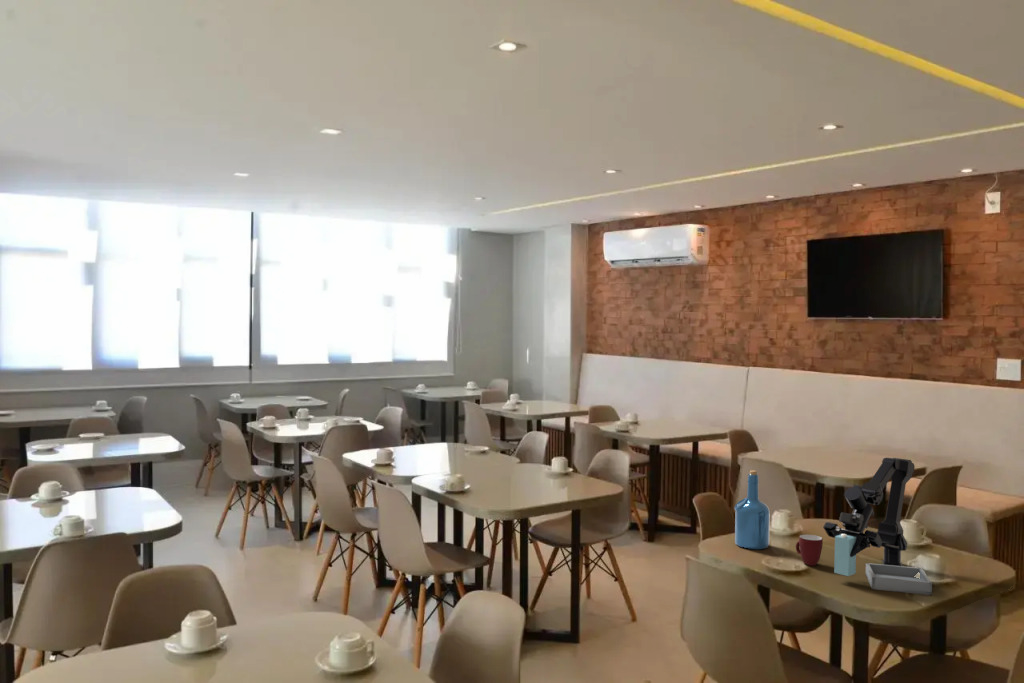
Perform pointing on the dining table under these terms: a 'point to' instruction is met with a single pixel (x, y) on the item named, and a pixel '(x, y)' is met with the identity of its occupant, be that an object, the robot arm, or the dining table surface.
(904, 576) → the gray square tray
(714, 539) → the dining table surface
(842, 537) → the carton
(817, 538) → the mug
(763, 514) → the wine bottle
